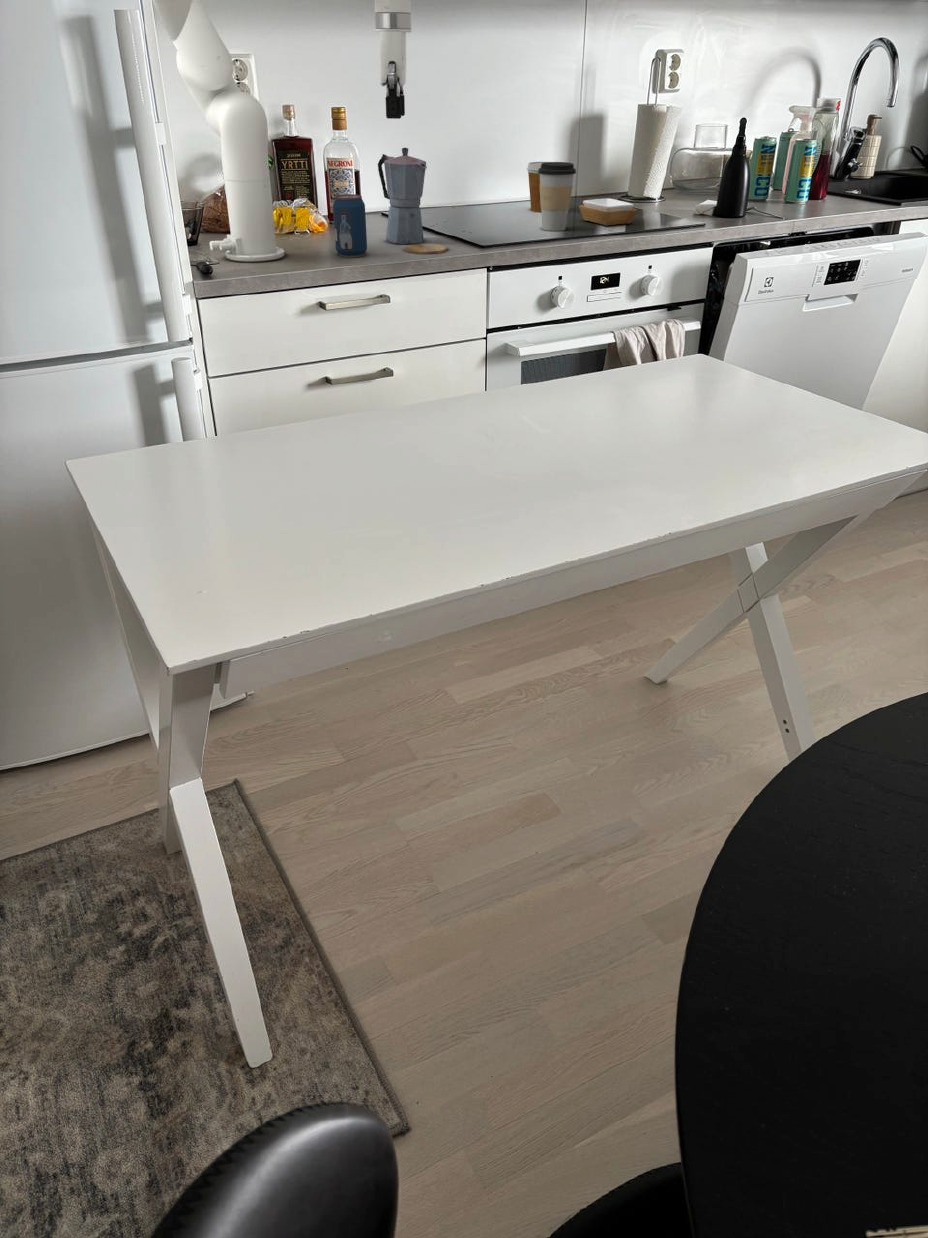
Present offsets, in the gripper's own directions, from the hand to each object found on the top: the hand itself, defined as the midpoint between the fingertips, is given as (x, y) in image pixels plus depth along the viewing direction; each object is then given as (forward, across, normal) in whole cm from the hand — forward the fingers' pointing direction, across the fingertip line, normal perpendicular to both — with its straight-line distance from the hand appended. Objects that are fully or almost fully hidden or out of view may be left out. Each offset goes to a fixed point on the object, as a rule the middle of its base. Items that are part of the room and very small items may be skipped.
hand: (395, 116), depth 203 cm
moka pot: (+26, -5, +1) cm, 27 cm away
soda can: (+27, +12, -9) cm, 31 cm away
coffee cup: (+26, -23, +38) cm, 51 cm away
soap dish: (+26, -34, +52) cm, 67 cm away
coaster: (+26, +6, +7) cm, 28 cm away
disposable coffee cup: (+26, -55, +36) cm, 70 cm away
